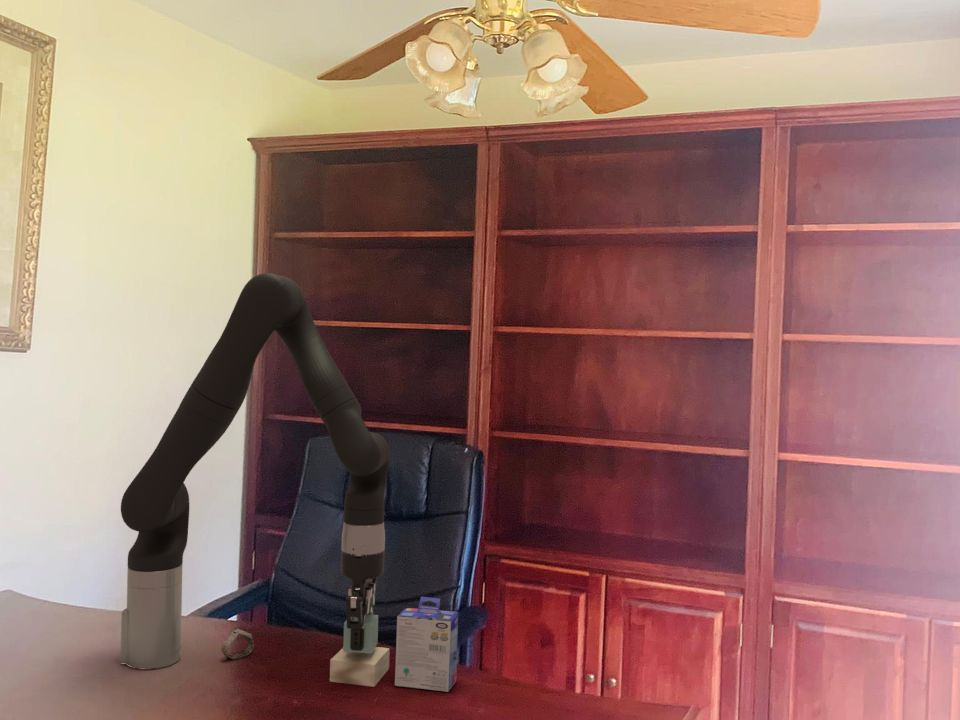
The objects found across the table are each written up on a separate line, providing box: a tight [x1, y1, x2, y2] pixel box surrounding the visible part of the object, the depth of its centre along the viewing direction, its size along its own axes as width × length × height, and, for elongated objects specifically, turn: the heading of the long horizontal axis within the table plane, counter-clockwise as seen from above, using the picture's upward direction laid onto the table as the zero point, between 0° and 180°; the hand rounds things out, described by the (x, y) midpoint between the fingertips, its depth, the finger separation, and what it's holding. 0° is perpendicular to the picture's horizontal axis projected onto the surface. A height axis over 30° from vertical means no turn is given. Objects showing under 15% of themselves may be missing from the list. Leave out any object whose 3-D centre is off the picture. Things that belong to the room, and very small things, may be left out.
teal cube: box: [342, 614, 379, 653], centre depth 144 cm, size 5×5×5 cm
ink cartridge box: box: [394, 596, 459, 693], centre depth 141 cm, size 10×6×14 cm, turn 78°
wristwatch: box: [221, 628, 255, 660], centre depth 151 cm, size 4×6×5 cm, turn 144°
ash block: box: [329, 646, 390, 687], centre depth 144 cm, size 8×8×4 cm
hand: (360, 643), depth 144 cm, fingers closed on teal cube, 5 cm apart
